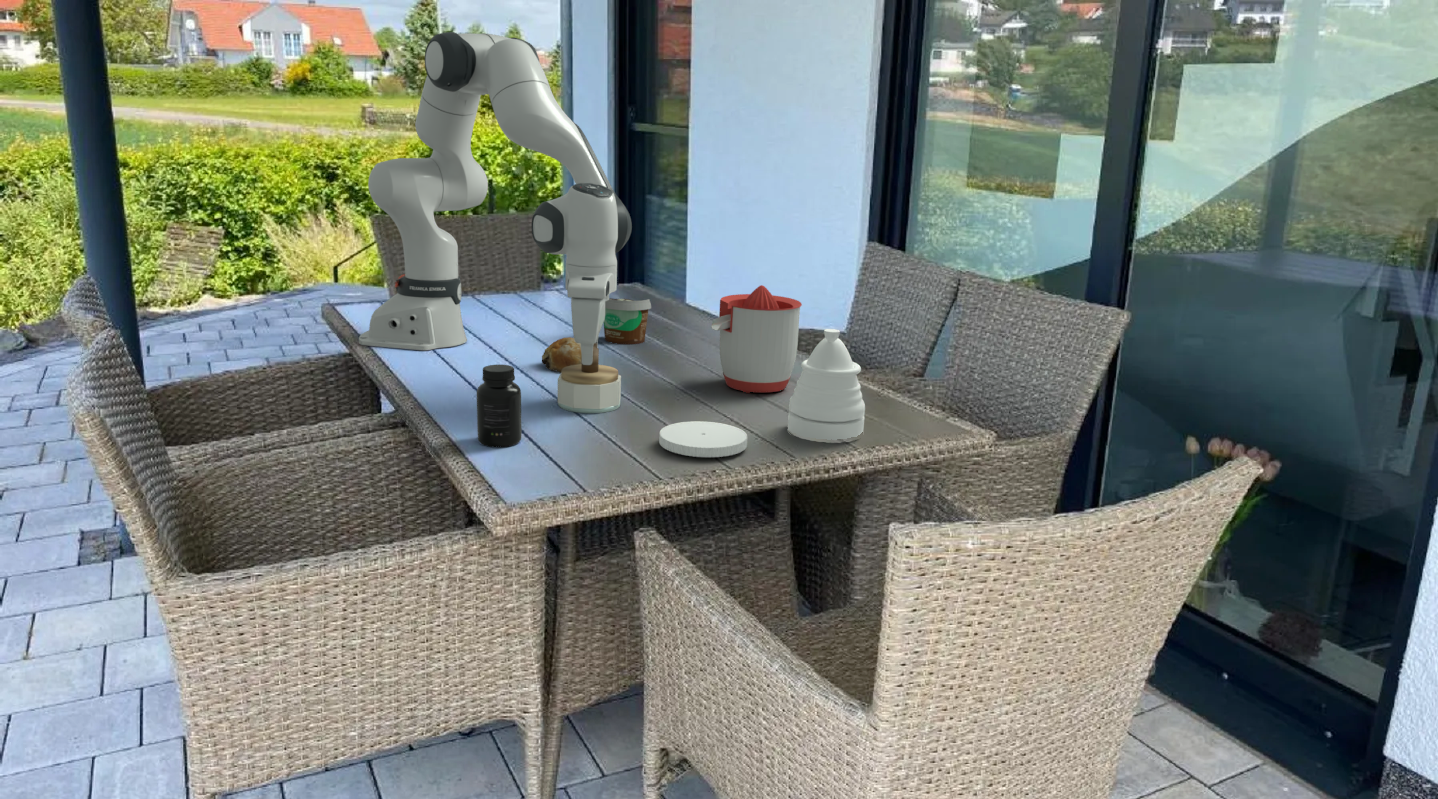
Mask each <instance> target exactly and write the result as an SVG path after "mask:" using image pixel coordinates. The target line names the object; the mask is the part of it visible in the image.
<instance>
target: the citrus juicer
mask: <svg viewBox="0 0 1438 799" xmlns="http://www.w3.org/2000/svg"><path fill="white" fill-rule="evenodd" d="M802 306H803V305H802V302H801V301H800V300H797V299H795V298H791V297H787V296H786V297H785V296H781V295H774V294H772V293H771V292H770V291H769V289H768V288H767V287H766V286H764V285H759V286H758V287H757V288H755V289H754V290H753V291H752V292H751V293H745V294H743V293H741V294H738V293H737V294H732V295H731V294H730V295H726V296H722V297H721V298H720V300H719V315H718V316H719V317H716V318H715V319H713V320H712V323H711V327H710V328H711V329H712V331H717V332H718V331H719V357H720V358H719V359H720V365H721V369H722V374H723V378H724V381H725V384H726V386H728V387H730V388H731V389H734V390H738V391H743V392H742V393H744V392H746V393H745V394H751V393H750V392H753V393H773V392H781V391H780V390H782V391H783V390H785V389H786V388H787V385H788V384H789V381H790V379H791V375H792V373H793V370H794V367H795V362H796V359H797V352H798V343H799V327H800V315H801V307H802Z"/></svg>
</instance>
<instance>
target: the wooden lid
mask: <svg viewBox="0 0 1438 799" xmlns="http://www.w3.org/2000/svg"><path fill="white" fill-rule="evenodd" d="M599 351H600V348H596V347H593V362H592V364H591V365H583V364H582V362H581V364H579V365H571V366H567V367H564V368H563V369H562V370H561V372H560V374H561V378H562V379H563V380H565V381H567V382H571V383H576V384H585V385H598V384H607V383H611V382H614V381H616V380H617V379H618V375H619V370H618V369H617V368H615V367H613V366H609V365H604V364H599V360H600V357H599V356H600V352H599Z"/></svg>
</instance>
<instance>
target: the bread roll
mask: <svg viewBox="0 0 1438 799" xmlns="http://www.w3.org/2000/svg"><path fill="white" fill-rule="evenodd" d="M581 362H582V353H581V343H576V342H575V340H574V337H570V336H569V337H563V338H559V339H557V340H555V341H553V342H552V343H551V344H549V346H548V347H547V348H545V349H544V352H543V353H542V355H541V364H543V365H545V369H548V370H550V371H554V372H559V373H561V370H562V369H563V368H564V367H567V366H571V365H579V364H581Z"/></svg>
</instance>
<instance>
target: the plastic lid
mask: <svg viewBox="0 0 1438 799" xmlns="http://www.w3.org/2000/svg"><path fill="white" fill-rule="evenodd" d="M658 436H659V437H658V443H659V445H660V446H661V447H662V449H664V450H667V451H669V452H671V453H674V454H678V455H682V456H689V457H696V458H720V457H721V458H722V457H729V456H734V455H736V454H740V453H741V452H743V451H745V450H746V449H747V448H748V434H747V432H746V431H744V430H743V429H741V428H739V427H737V426H734V425H730V424H726V423H720V422H717V421H715V422H714V421H705V420H704V421H702V420H700V421H699V420H698V421H693V420H692V421H682V422H676V423H671V424H668V425H666V426H664V427H662V428H661V429H660V431H659V434H658Z"/></svg>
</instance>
